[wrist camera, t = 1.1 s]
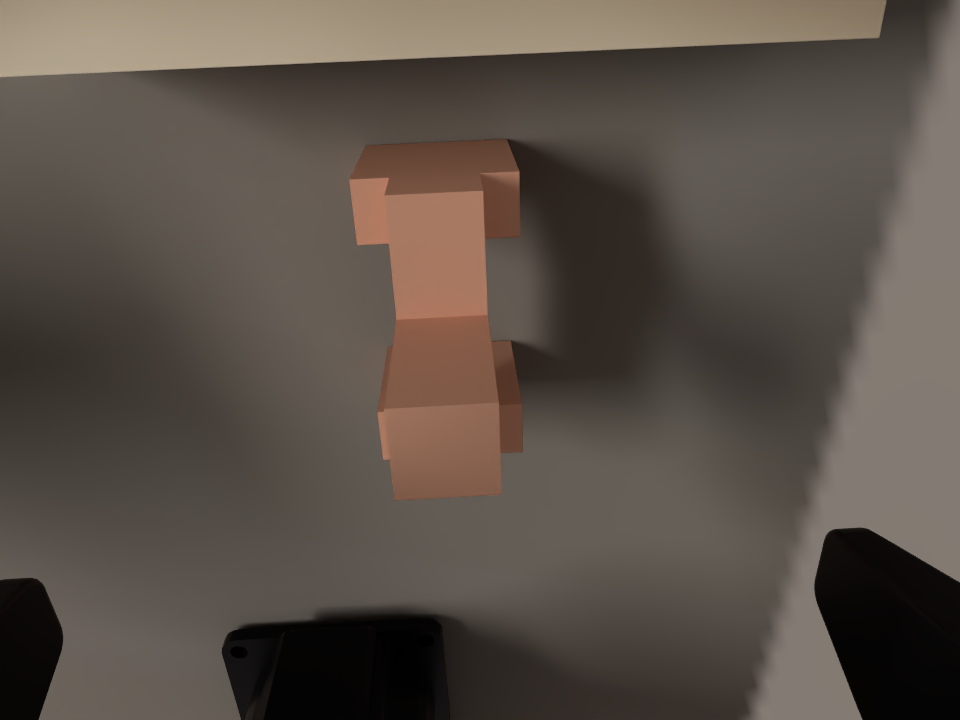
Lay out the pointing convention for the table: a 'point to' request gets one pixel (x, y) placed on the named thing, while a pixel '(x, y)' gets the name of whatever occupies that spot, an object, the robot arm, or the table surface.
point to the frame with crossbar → (390, 29)
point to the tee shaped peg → (442, 312)
